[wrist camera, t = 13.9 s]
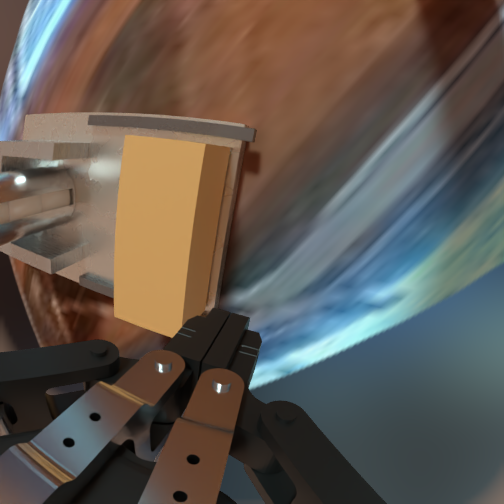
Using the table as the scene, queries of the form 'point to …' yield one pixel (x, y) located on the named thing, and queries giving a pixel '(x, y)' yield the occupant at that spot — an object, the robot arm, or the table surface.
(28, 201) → the air filter
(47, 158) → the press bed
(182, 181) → the block
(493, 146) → the table surface
